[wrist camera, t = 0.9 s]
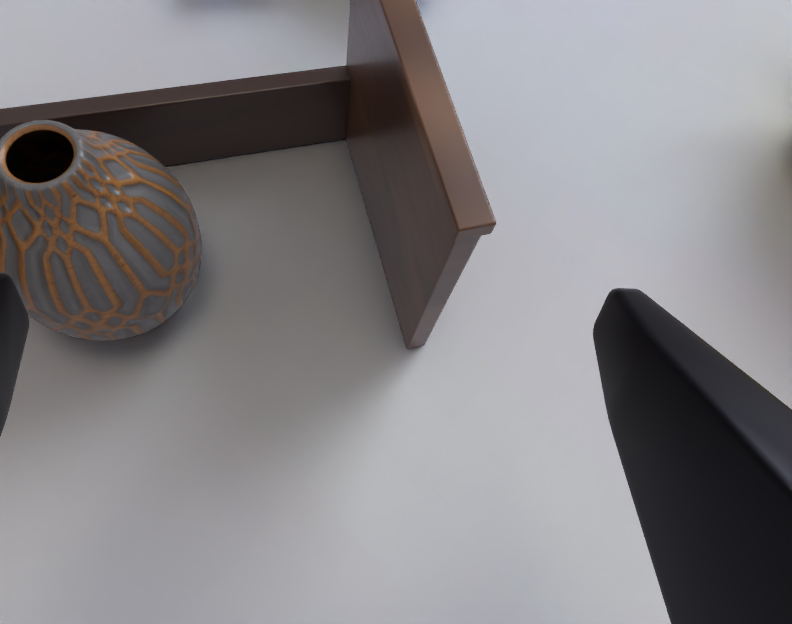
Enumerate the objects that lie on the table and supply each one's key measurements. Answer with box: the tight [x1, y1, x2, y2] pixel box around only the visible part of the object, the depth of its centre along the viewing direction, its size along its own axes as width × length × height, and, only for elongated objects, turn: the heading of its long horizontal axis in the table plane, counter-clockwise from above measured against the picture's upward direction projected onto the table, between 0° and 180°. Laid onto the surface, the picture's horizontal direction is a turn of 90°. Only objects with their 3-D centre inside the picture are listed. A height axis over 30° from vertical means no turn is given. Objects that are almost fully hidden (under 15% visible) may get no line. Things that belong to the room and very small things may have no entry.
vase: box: [0, 120, 202, 340], centre depth 21 cm, size 7×7×9 cm
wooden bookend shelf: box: [0, 0, 496, 349], centre depth 21 cm, size 12×23×11 cm, turn 105°
